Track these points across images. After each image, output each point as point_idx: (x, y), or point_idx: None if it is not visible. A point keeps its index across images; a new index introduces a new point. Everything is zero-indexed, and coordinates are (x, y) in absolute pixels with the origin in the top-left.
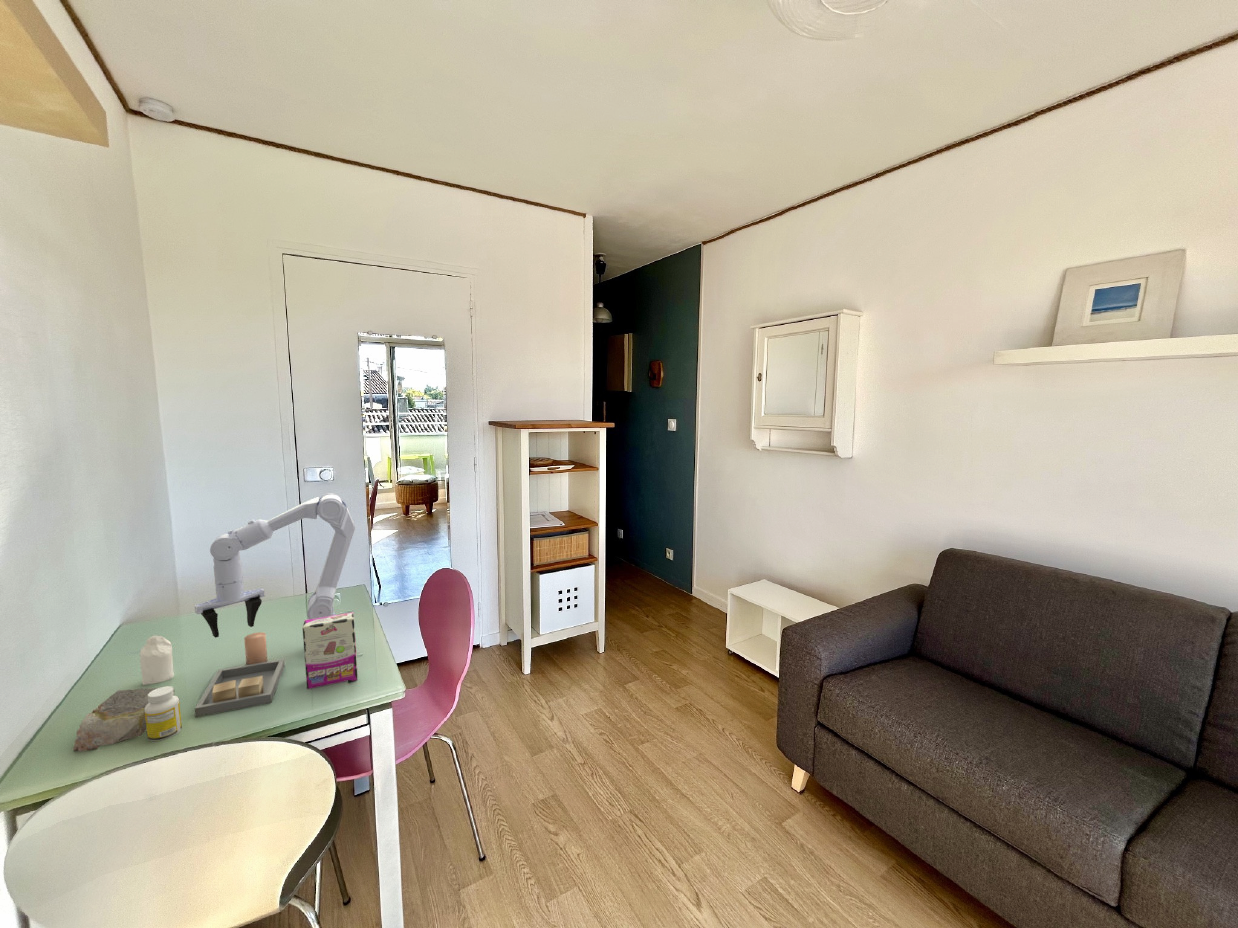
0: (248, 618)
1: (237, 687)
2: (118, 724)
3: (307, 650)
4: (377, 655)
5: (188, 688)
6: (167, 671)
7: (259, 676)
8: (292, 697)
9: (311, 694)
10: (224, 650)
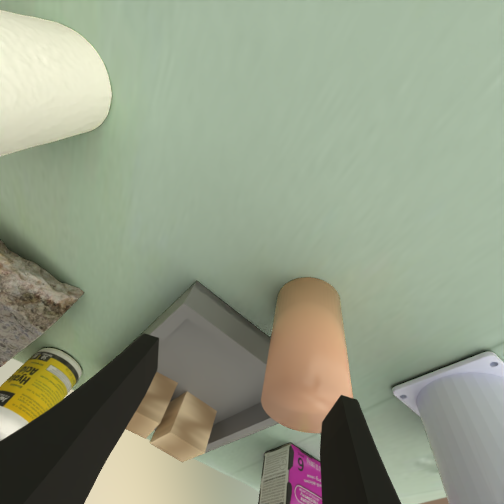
0: (342, 463)
1: (195, 361)
2: None
3: None
4: (443, 491)
5: (125, 249)
6: (59, 139)
7: (199, 449)
8: (237, 443)
9: (259, 459)
10: (371, 19)
